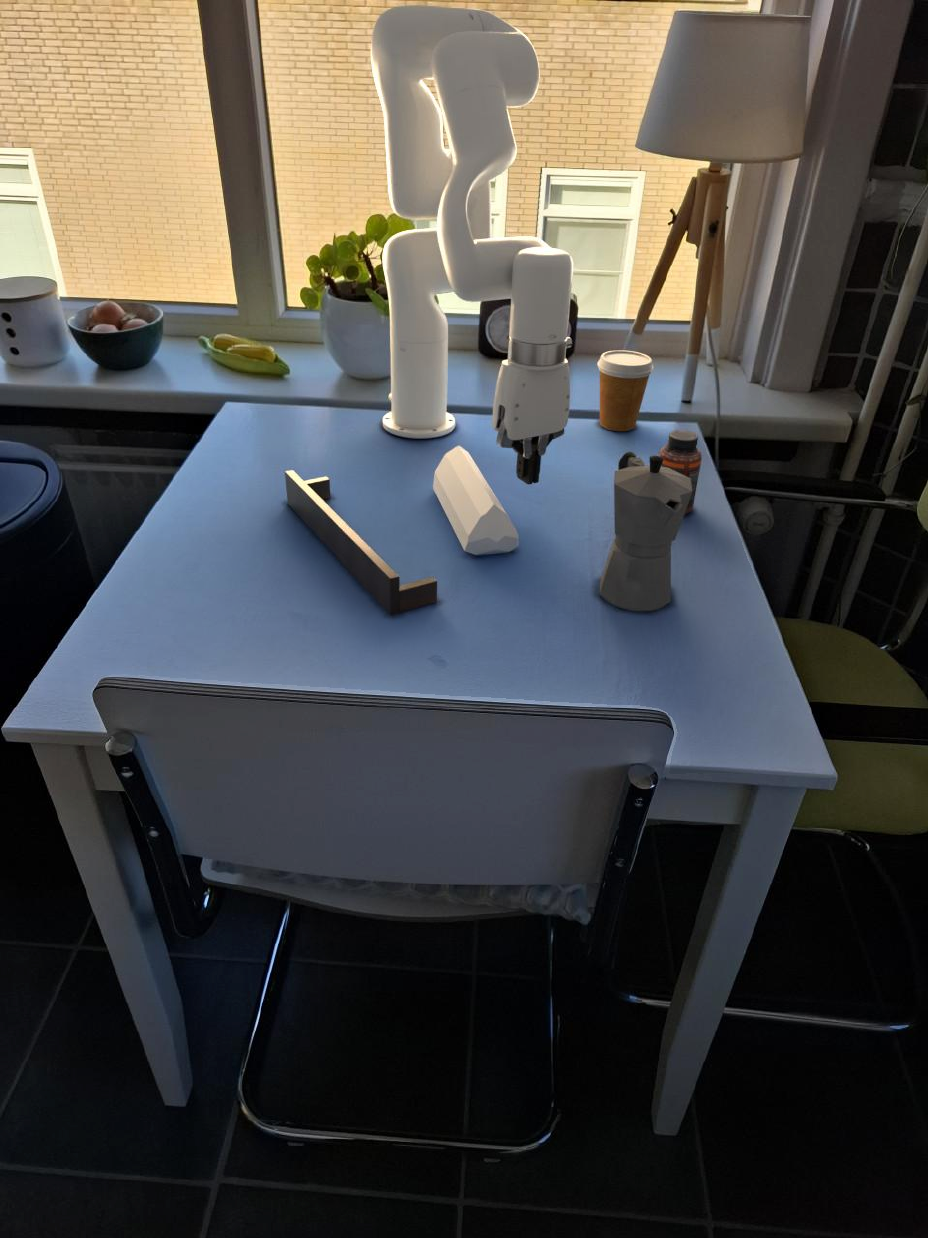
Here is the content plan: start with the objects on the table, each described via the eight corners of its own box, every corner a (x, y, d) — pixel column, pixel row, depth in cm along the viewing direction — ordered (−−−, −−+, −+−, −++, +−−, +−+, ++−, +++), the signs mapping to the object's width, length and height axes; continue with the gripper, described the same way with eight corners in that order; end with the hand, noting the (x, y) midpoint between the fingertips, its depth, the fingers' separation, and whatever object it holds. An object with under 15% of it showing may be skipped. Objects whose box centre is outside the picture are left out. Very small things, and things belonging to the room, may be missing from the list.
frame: (287, 503, 126) (284, 471, 123) (327, 495, 128) (325, 463, 126) (390, 615, 102) (390, 578, 99) (437, 602, 105) (437, 566, 102)
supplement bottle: (694, 503, 130) (708, 430, 124) (689, 520, 125) (703, 445, 119) (654, 496, 131) (666, 424, 125) (648, 512, 127) (659, 438, 121)
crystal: (539, 530, 113) (490, 457, 132) (494, 509, 109) (450, 437, 129) (508, 576, 115) (465, 498, 135) (463, 557, 112) (425, 479, 131)
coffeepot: (692, 617, 104) (722, 477, 94) (618, 625, 102) (640, 483, 92) (642, 555, 116) (663, 425, 106) (575, 561, 114) (590, 429, 104)
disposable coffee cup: (592, 413, 160) (600, 347, 154) (645, 418, 159) (655, 352, 152) (588, 431, 153) (596, 363, 146) (643, 437, 151) (653, 368, 145)
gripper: (566, 336, 120) (554, 461, 130) (473, 350, 114) (469, 480, 124) (599, 351, 115) (585, 480, 125) (504, 366, 109) (497, 500, 119)
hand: (527, 479), depth 124 cm, fingers closed
